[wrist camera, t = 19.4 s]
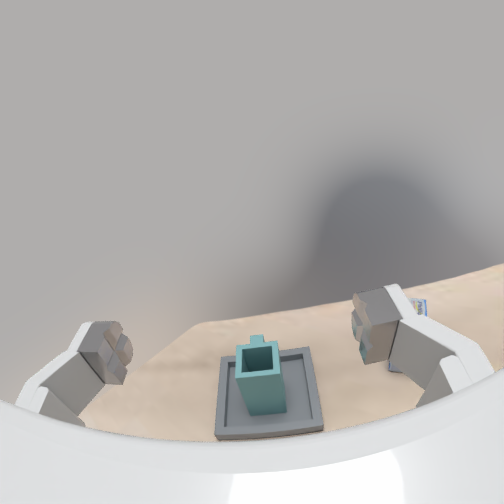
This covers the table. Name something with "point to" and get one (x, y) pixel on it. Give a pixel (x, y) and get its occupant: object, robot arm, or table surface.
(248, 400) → the tabbed sleeve
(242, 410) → the tray
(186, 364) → the table surface
